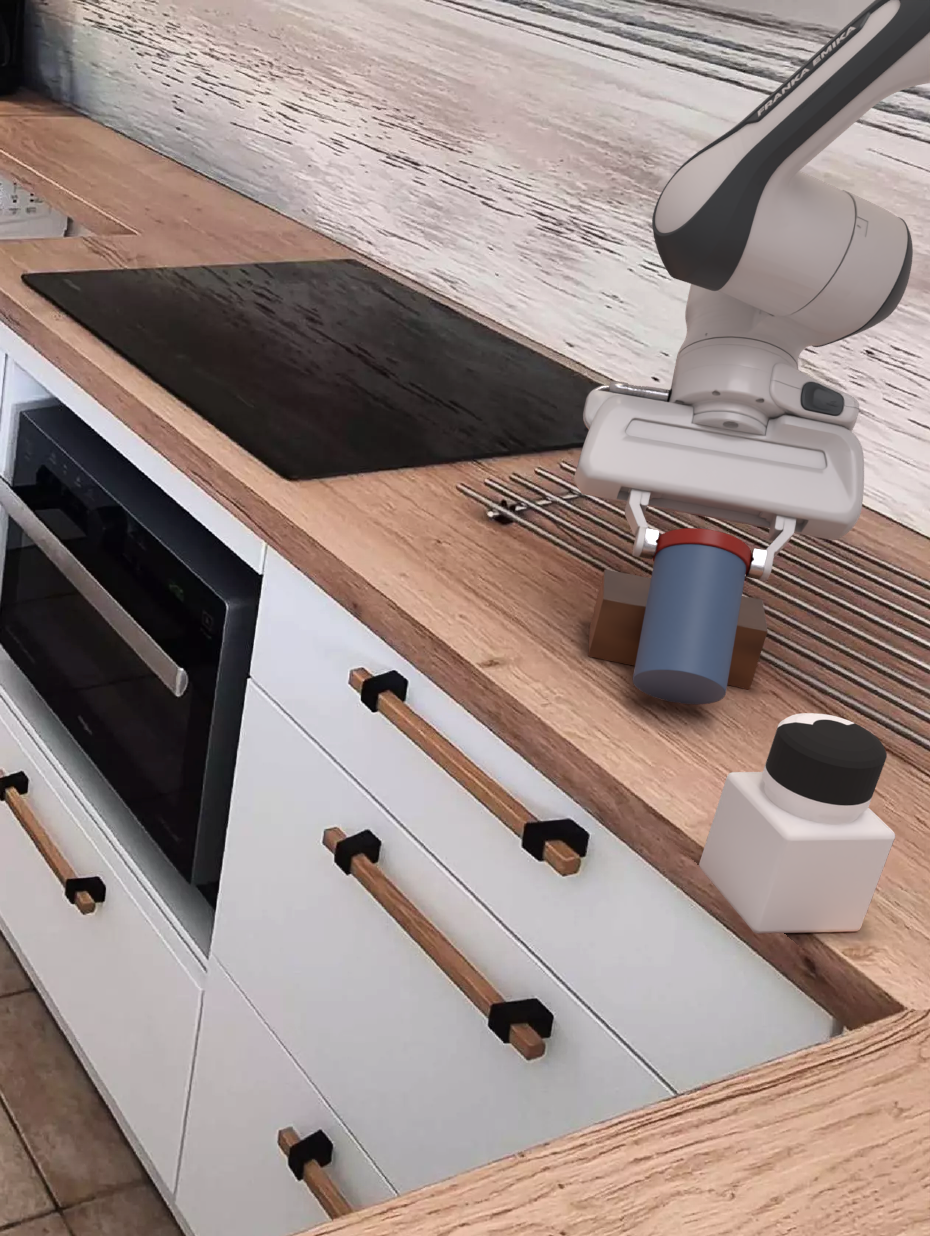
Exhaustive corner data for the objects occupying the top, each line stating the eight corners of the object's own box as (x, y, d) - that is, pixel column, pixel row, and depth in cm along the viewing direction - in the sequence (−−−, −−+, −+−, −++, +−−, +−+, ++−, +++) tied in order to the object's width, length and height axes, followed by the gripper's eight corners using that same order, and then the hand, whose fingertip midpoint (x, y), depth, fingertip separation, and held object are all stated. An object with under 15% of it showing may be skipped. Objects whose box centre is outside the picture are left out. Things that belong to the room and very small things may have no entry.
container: (712, 667, 135) (757, 517, 129) (720, 738, 124) (769, 578, 118) (622, 648, 136) (662, 500, 130) (622, 717, 125) (666, 558, 120)
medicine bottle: (862, 933, 104) (926, 761, 98) (753, 936, 102) (812, 762, 97) (798, 865, 110) (856, 700, 104) (695, 866, 109) (748, 699, 103)
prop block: (745, 656, 137) (763, 599, 134) (749, 689, 132) (768, 631, 129) (589, 625, 139) (604, 568, 137) (588, 656, 134) (603, 598, 132)
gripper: (596, 357, 131) (563, 521, 127) (882, 405, 127) (857, 576, 123) (584, 396, 137) (552, 554, 133) (857, 443, 133) (832, 608, 129)
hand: (700, 565), depth 128 cm, fingers closed on container, 7 cm apart
